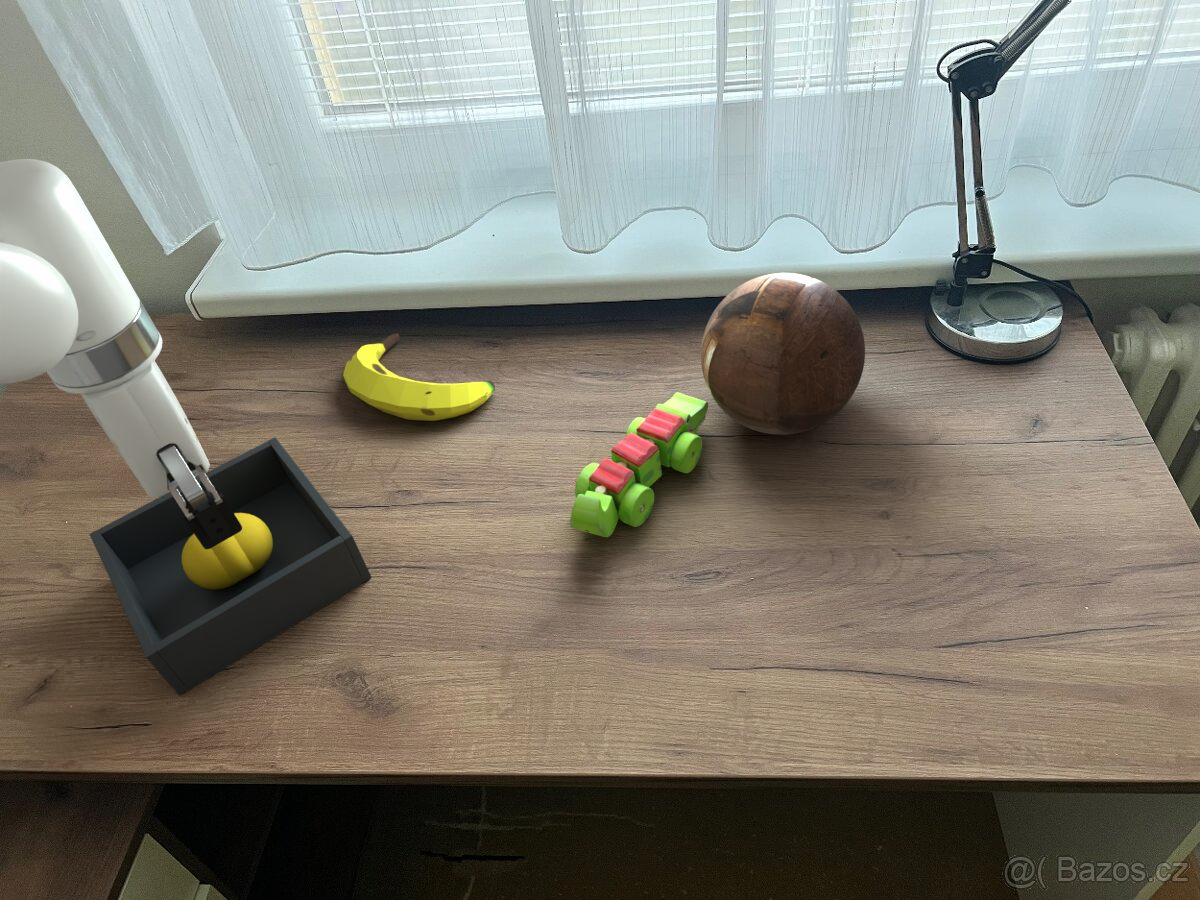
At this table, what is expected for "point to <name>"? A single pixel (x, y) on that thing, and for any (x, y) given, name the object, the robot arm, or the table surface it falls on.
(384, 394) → the banana
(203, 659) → the crate
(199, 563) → the yellow rounded tiered object
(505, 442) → the table surface
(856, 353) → the wooden sphere
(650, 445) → the toy crocodile
